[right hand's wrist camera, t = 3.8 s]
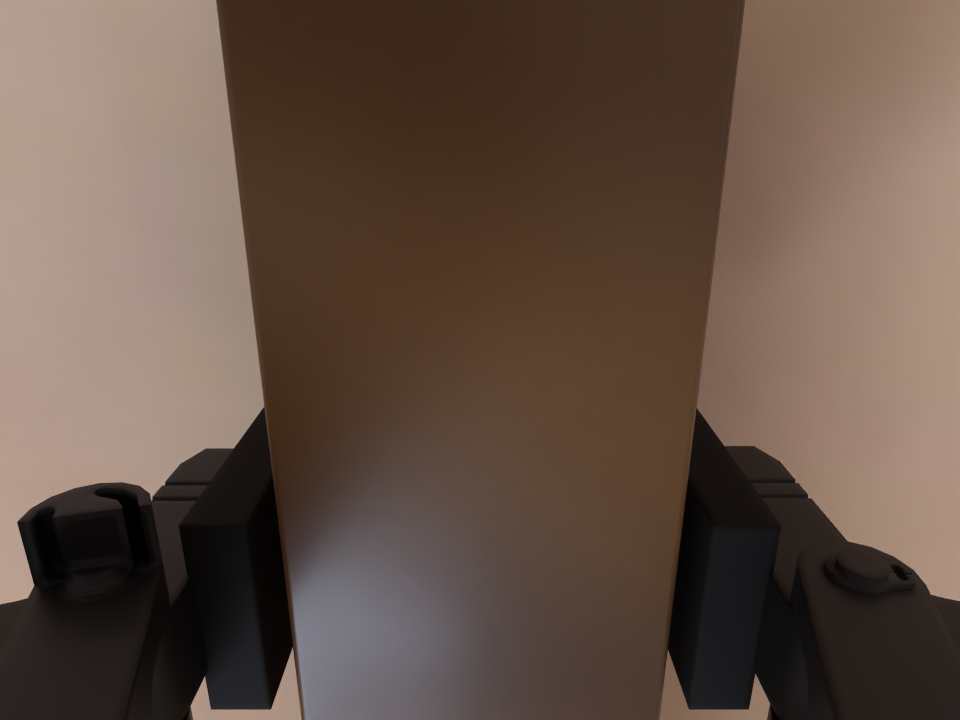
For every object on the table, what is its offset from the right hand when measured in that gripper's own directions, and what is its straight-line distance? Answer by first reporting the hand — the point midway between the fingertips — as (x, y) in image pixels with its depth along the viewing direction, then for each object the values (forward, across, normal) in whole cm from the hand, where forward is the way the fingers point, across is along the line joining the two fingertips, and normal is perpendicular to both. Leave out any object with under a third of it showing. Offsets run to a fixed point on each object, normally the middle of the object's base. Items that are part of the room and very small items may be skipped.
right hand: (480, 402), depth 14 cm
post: (+1, 0, -22) cm, 22 cm away
